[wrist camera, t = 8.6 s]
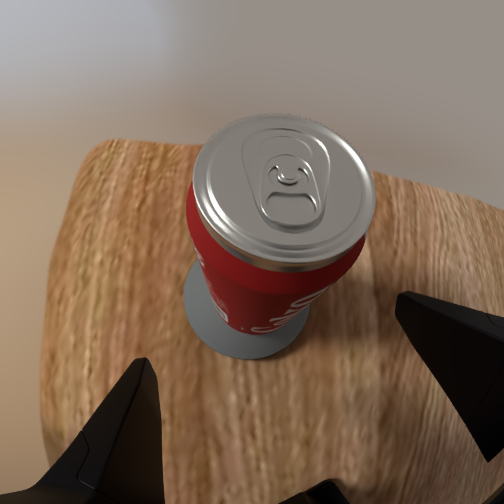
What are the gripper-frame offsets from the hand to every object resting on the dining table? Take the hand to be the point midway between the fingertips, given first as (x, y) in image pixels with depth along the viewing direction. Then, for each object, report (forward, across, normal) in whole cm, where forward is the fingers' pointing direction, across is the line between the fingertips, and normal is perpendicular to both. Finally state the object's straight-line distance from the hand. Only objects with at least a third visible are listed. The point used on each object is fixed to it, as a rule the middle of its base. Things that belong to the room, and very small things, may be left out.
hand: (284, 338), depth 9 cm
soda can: (+8, 0, +3) cm, 9 cm away
